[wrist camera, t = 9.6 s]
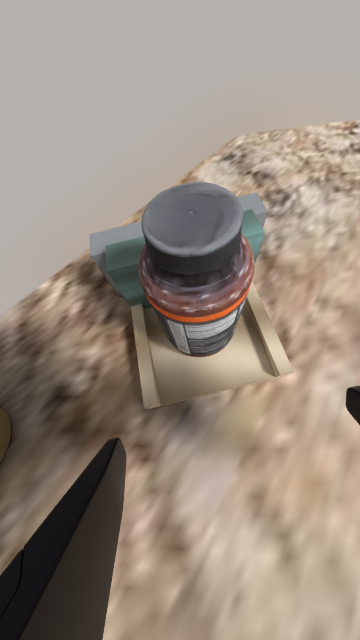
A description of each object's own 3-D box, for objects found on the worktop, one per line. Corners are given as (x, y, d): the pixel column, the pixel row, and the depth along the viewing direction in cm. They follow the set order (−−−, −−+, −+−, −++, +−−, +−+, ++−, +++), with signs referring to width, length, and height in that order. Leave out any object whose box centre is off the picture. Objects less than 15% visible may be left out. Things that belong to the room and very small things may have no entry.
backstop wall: (252, 263, 21) (267, 211, 16) (119, 296, 21) (90, 256, 16) (239, 236, 23) (249, 180, 18) (116, 266, 23) (89, 221, 18)
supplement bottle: (165, 299, 20) (121, 174, 10) (229, 293, 19) (255, 154, 9) (166, 362, 17) (107, 282, 7) (239, 357, 17) (293, 263, 6)
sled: (285, 376, 16) (332, 352, 10) (150, 409, 17) (117, 404, 10) (238, 268, 21) (251, 208, 15) (133, 294, 21) (104, 245, 15)
